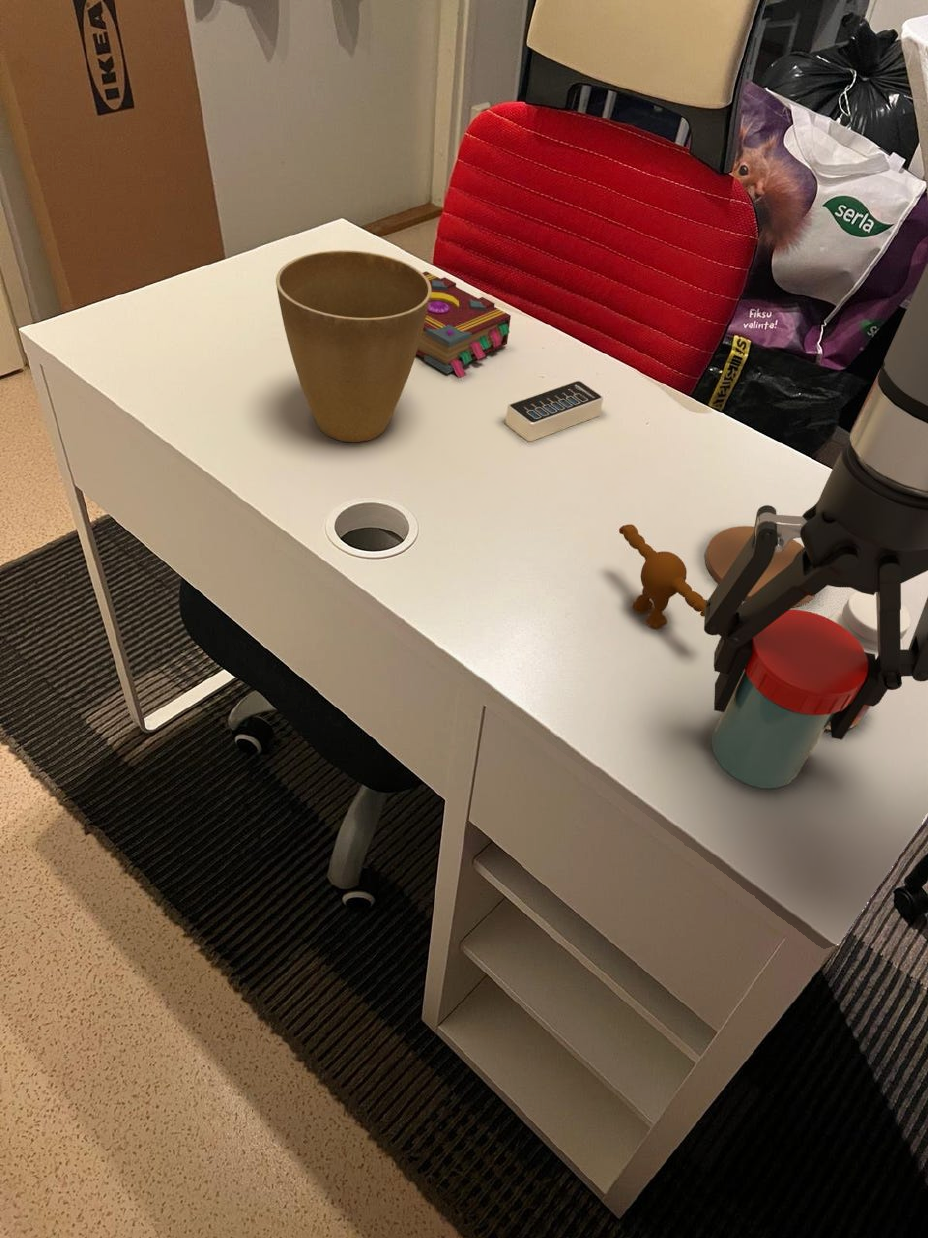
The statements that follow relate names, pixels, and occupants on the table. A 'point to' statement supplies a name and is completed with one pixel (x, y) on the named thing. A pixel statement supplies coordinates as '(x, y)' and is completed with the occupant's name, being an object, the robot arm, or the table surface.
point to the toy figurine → (660, 580)
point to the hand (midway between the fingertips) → (777, 710)
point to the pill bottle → (865, 627)
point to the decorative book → (459, 327)
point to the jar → (764, 738)
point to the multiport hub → (553, 410)
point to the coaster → (730, 545)
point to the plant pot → (352, 335)
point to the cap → (807, 663)
